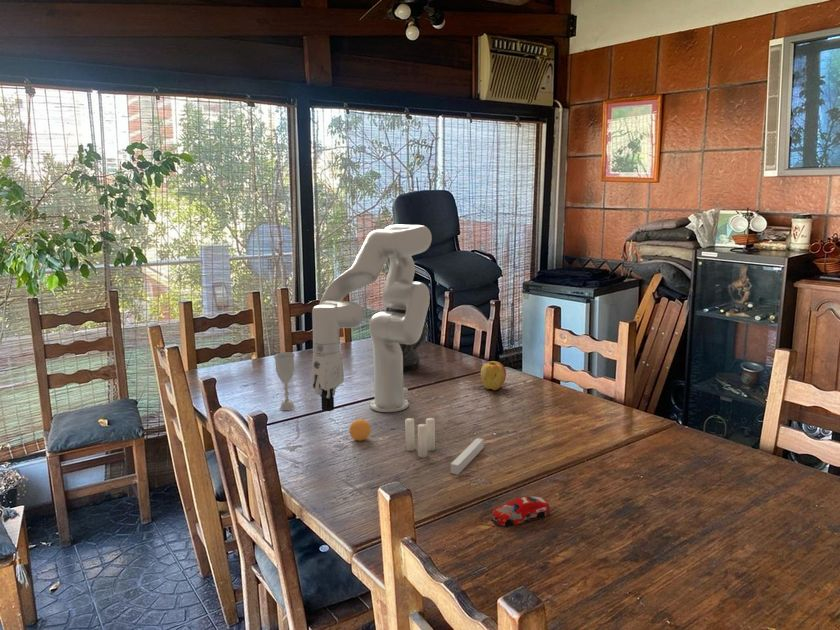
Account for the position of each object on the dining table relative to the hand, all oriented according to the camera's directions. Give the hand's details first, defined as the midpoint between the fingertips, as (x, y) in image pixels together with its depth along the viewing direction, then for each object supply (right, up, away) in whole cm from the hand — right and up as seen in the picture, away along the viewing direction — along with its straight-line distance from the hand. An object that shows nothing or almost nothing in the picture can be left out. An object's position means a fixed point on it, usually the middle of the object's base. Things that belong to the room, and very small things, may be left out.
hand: (327, 409), depth 180 cm
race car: (+48, -17, -45) cm, 68 cm away
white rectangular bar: (+39, -11, -16) cm, 44 cm away
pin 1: (+27, -10, -13) cm, 32 cm away
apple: (+53, +1, +42) cm, 67 cm away
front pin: (+24, -9, -9) cm, 27 cm away
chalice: (-17, -3, +25) cm, 30 cm away
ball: (+10, -5, -3) cm, 11 cm away
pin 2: (+30, -9, -9) cm, 32 cm away
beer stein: (+20, +7, +72) cm, 75 cm away
